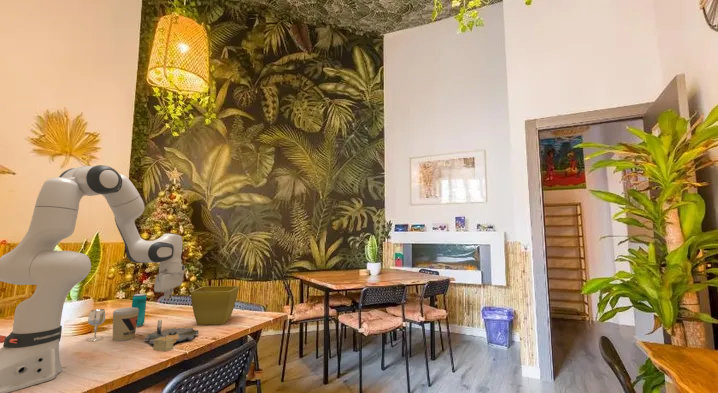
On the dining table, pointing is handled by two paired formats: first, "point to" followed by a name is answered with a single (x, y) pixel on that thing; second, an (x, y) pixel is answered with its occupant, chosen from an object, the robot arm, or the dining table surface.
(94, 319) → the wineglass
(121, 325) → the coffee cup
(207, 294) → the flower pot
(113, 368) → the dining table surface
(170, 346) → the tall wooden block
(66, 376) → the dining table surface
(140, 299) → the beverage can
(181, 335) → the sprocket
